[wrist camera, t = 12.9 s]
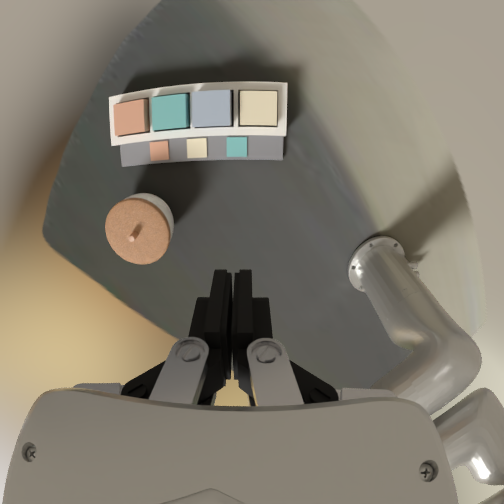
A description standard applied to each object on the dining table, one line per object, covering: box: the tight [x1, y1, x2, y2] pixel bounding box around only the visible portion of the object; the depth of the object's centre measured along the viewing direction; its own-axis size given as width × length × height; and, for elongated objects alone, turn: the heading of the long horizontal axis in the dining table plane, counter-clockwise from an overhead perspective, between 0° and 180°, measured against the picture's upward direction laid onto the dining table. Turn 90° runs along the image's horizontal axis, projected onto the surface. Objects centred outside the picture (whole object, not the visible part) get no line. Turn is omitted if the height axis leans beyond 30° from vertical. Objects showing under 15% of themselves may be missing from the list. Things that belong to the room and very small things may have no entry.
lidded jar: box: [105, 193, 174, 264], centre depth 40 cm, size 11×11×9 cm
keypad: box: [109, 82, 287, 167], centre depth 35 cm, size 26×12×4 cm, turn 90°
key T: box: [151, 94, 190, 131], centre depth 34 cm, size 5×5×5 cm
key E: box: [240, 91, 277, 126], centre depth 34 cm, size 5×5×5 cm
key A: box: [113, 99, 150, 136], centre depth 33 cm, size 5×5×5 cm
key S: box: [192, 90, 232, 127], centre depth 32 cm, size 5×5×5 cm
